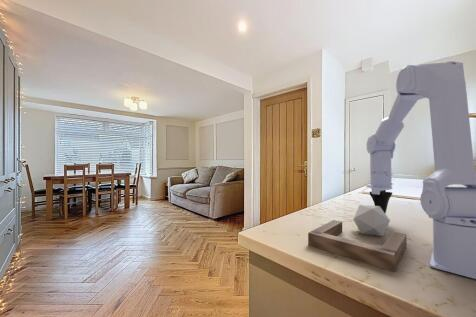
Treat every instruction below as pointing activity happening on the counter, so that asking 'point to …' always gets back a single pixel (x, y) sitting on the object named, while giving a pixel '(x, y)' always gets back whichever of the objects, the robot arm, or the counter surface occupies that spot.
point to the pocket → (359, 246)
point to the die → (371, 220)
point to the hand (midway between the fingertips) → (381, 213)
